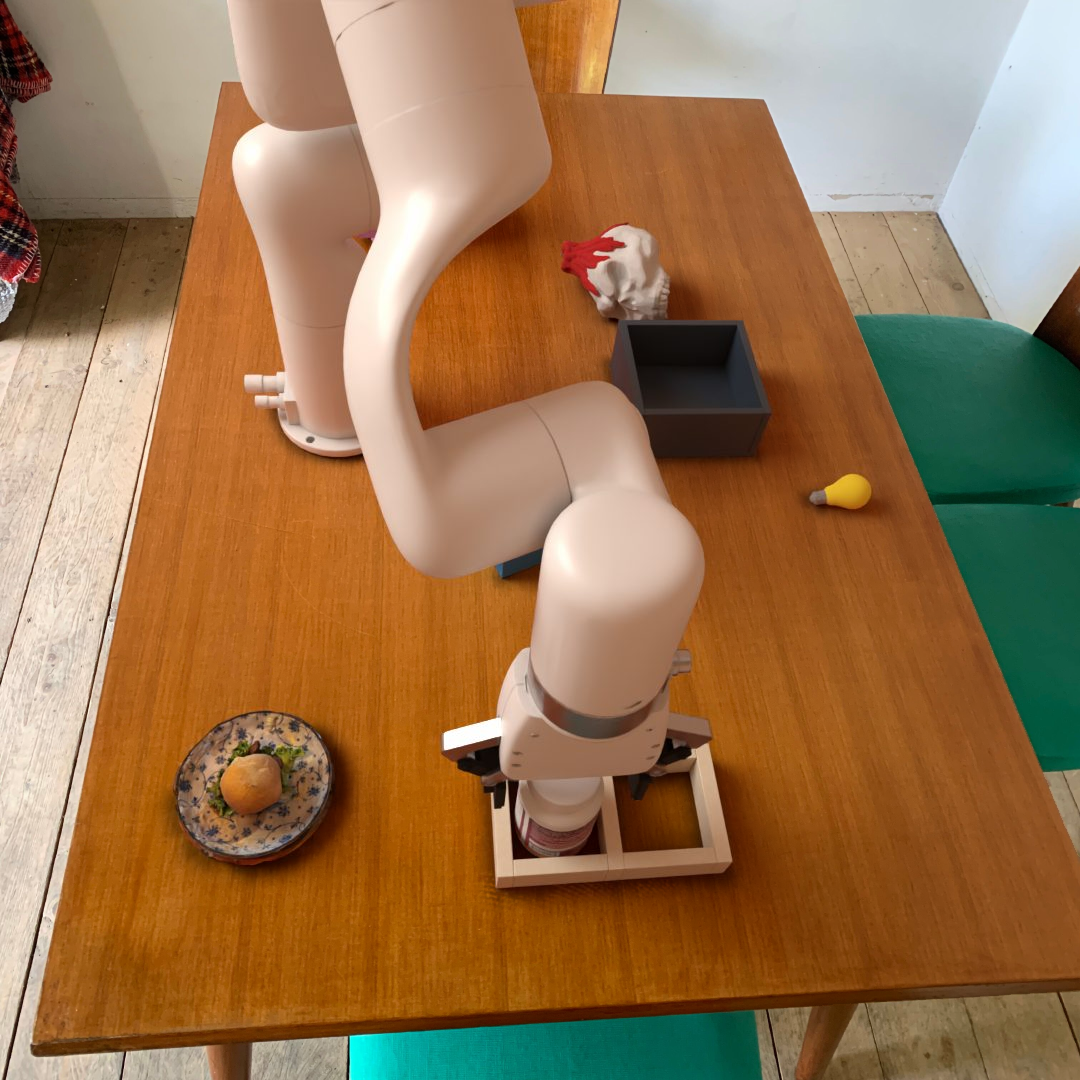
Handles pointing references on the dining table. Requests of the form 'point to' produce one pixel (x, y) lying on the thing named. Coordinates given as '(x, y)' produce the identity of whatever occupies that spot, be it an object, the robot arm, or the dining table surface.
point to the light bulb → (844, 492)
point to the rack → (611, 855)
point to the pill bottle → (557, 814)
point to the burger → (254, 787)
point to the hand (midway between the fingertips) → (565, 783)
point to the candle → (621, 272)
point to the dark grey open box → (692, 385)
